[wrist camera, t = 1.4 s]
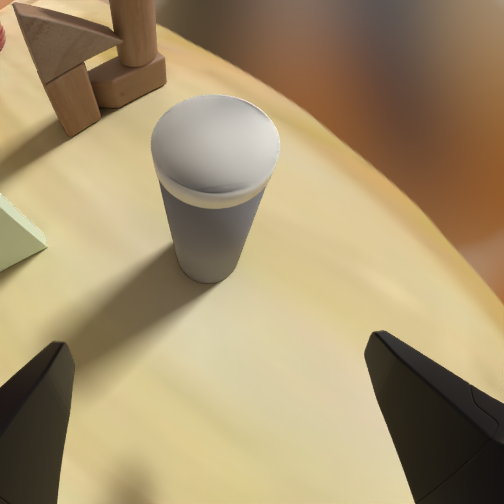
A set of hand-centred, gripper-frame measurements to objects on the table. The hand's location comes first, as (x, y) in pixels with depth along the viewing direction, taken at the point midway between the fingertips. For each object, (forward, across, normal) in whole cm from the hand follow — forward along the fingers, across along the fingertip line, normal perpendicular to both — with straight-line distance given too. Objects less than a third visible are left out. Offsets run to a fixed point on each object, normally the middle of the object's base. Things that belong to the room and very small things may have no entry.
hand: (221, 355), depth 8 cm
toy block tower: (+25, +9, -6) cm, 28 cm away
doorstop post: (+14, 0, +4) cm, 15 cm away
